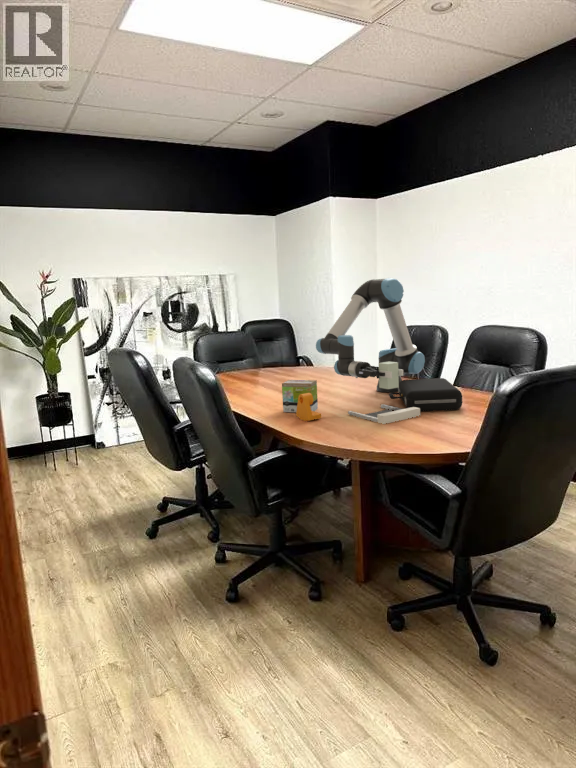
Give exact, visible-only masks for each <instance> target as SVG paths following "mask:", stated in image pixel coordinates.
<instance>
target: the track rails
mask: <svg viewBox="0 0 576 768" xmlns="http://www.w3.org/2000/svg"><path fill="white" fill-rule="evenodd" d="M384 408H385V409H384ZM380 409H384V410H388V409H389V410H394V411H397V410H401V409H403V408H401V407H397V406H392V405H387V404H383V403H382V404H380ZM348 414H349V415H348ZM365 414H366V413H365ZM365 414H364V413H360V412H357V411H353V410H347V415H348V416H352V415H353V416H352V417H355V416H356V418H359V417H360V419H363V420H366V419H367V421H370V420H371V422H374V423H377V418H376V417H372V416H368V415H365Z"/></svg>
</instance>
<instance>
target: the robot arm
mask: <svg viewBox="0 0 576 768" xmlns="http://www.w3.org/2000/svg"><path fill="white" fill-rule="evenodd" d="M404 292H405V291H404V286H403V284H402V282H401V281H400V280H398V279H397V278H393V277H392V278H391V277H386V278H377V279H375V278H373V279H369V280H367V281H365V282H364V283H362V284H361V285H360V286H359V287H358V288H357V289H356V290H355V291H354V292H353V294H352V296H351V297H350V299H351V300H350V302H349V303H348V304H347V306H346V307H345V308H344V310H343V311H342V312H341V314H340V316H338V319H337V320H336V321H335V322H334V324H333V326H331V328H330V329H329V331H328V332H327V334H326V335H325V336H324V338H323V337H321V338H319V339H317V340H316V343H315V349H316V351H317V352H318V353H320V354H324V355H338V358H337V360H336V361H335V362H334V365H333V368H334V372H335V373H336V374H337V375H340V376H343V377H353V378H354V377H355V379H358V378H361V379H367V378H369V377H370V378H376V379H378V380H377V384H376V391H377V392H380V393H398V388H392V389H384V388H379V376H380V377H385V378H392V372H389V371H380V372H379V366H375V365H371V364H370V363H369V362H368V361H361V360H359V361H358V360H355V342H354V336H353V335H352V334H347V333H348V331H349V330H350V328H351V327H352V325H353V324H354V322H355V321H356V320H357V319H358V317H359V316H360V314H361V313H362V312H363V310H364V309H367V308H368V306H369V305H370V304H372V303H377V304H378V306H379V309H380V310H383V312H384V316H385V318H386V322H387V324H388V327H389V330H390V334H391V337H392V340H393V342H394V347H395V348H388V349H387V348H386V349H381V350H379V351H378V364H379V363H382V362H398V377H399V383H400V382H401V381H402V380H403V378H402V377H403V376H404V374H410V375H411V374H414V375H416V374H419V373H420V372H421V371H422V370H423V369H424V366H425V362H426V359H425V358H426V357H425V355H424V353H422V352H421V351H419V350H418V348H417V346H416V345H415V344H413V342H412V339H411V335H410V333H409V330H408V329H409V328H408V326H407V324H406V323H407V322H406V320H405V316H404V314H403V309H402V307H401V303H403V302H402V301H403V300H402V299H403V297H404Z"/></svg>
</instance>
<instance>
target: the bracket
mask: <svg viewBox="0 0 576 768" xmlns="http://www.w3.org/2000/svg"><path fill="white" fill-rule="evenodd" d="M311 404H313V396H312V394H311V393H305V394H300V395H299V397H298V404H297V411H296V412H295V413H296V417H297V418H299V420H301V421H303V422H308V421H314V419H315V420H319V419H322V413H320V412H317V411H311V408H310V405H311Z"/></svg>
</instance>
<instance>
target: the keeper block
mask: <svg viewBox="0 0 576 768" xmlns="http://www.w3.org/2000/svg"><path fill="white" fill-rule="evenodd" d="M378 367H379V372H380V371H389V372H392V378H385V377H380V376H379V378H378V380H379V388H384V389H392V388H398V387H399V377H398V362H382V363H379V362H378Z"/></svg>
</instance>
